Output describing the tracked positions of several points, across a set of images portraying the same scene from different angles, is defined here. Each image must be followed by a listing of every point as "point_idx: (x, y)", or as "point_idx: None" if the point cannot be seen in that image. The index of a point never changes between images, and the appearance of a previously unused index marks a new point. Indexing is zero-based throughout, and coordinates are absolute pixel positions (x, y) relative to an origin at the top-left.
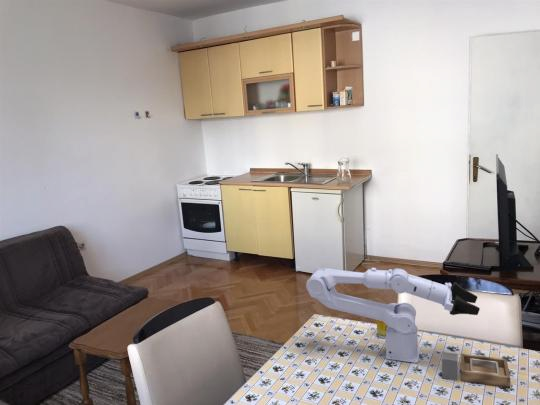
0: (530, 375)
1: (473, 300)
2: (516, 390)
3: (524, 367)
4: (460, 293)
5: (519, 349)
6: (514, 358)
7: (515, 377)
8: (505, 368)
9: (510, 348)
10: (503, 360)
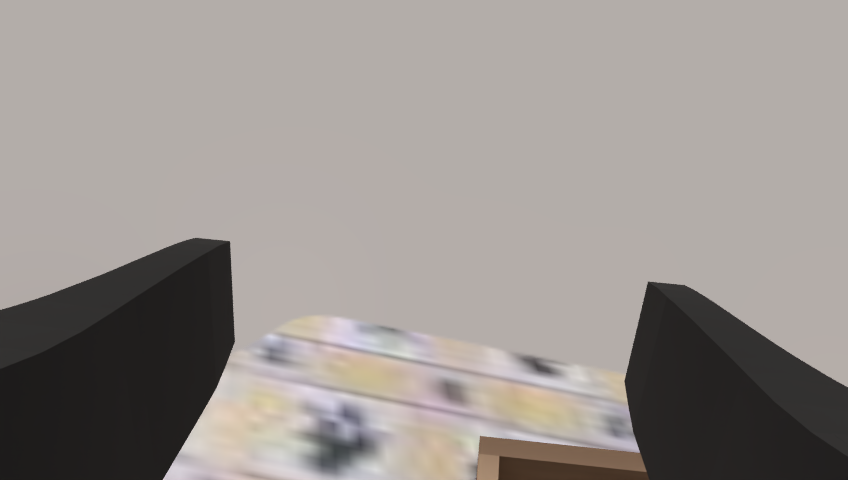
0: (523, 372)
1: (217, 332)
2: None
3: (439, 381)
4: (73, 459)
5: None
6: (337, 406)
7: None
8: (617, 467)
9: (208, 402)
10: (497, 458)
